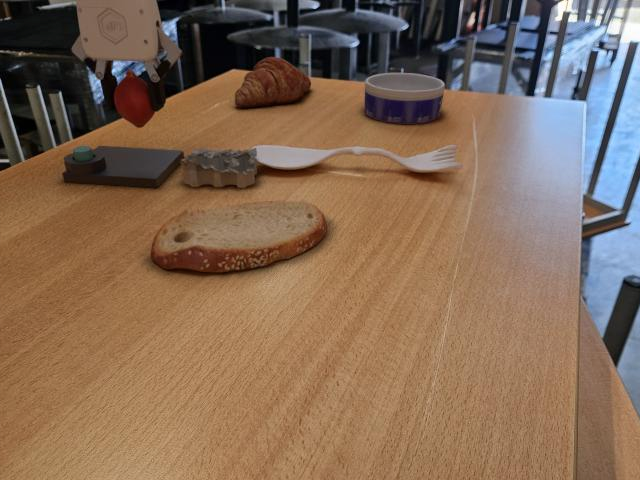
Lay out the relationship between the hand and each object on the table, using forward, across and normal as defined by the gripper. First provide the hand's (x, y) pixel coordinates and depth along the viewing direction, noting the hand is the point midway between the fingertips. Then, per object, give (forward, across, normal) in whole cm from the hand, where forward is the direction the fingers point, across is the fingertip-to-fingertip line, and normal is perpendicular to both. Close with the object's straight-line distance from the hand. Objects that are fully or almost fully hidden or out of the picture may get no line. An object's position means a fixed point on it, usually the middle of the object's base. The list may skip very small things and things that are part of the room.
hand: (136, 106), depth 83 cm
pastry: (+9, +11, +42) cm, 45 cm away
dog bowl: (+9, +38, +36) cm, 54 cm away
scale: (+9, -3, -2) cm, 10 cm away
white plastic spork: (+9, +32, +4) cm, 33 cm away
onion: (+3, 0, 0) cm, 3 cm away
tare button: (+6, -7, -5) cm, 11 cm away
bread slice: (+9, +20, -22) cm, 31 cm away
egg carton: (+9, +12, -2) cm, 16 cm away
